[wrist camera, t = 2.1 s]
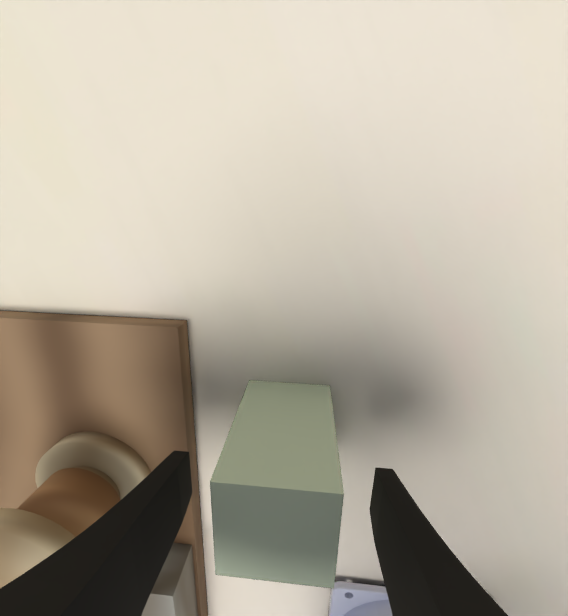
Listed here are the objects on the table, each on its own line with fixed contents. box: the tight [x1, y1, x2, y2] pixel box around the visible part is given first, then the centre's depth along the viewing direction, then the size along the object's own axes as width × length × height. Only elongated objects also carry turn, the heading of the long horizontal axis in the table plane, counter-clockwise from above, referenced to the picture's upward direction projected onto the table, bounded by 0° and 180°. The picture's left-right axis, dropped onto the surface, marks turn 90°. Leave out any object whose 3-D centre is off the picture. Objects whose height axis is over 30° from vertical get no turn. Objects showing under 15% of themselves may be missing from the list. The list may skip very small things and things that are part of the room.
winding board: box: [0, 311, 208, 616], centre depth 15 cm, size 14×26×6 cm, turn 179°
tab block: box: [210, 380, 344, 589], centre depth 12 cm, size 4×4×6 cm
